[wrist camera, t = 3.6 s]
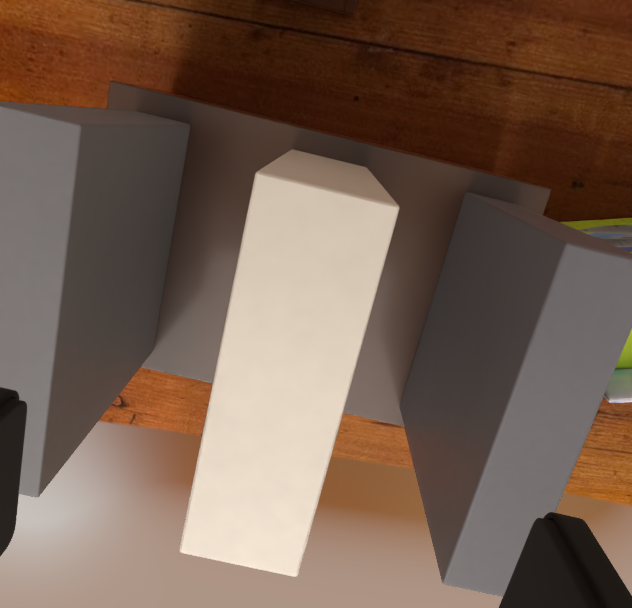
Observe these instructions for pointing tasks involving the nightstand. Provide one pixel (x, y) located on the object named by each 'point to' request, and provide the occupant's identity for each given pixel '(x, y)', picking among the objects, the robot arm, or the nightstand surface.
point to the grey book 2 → (509, 380)
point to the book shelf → (229, 221)
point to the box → (628, 375)
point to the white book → (287, 358)
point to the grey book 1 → (80, 263)
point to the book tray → (333, 5)
